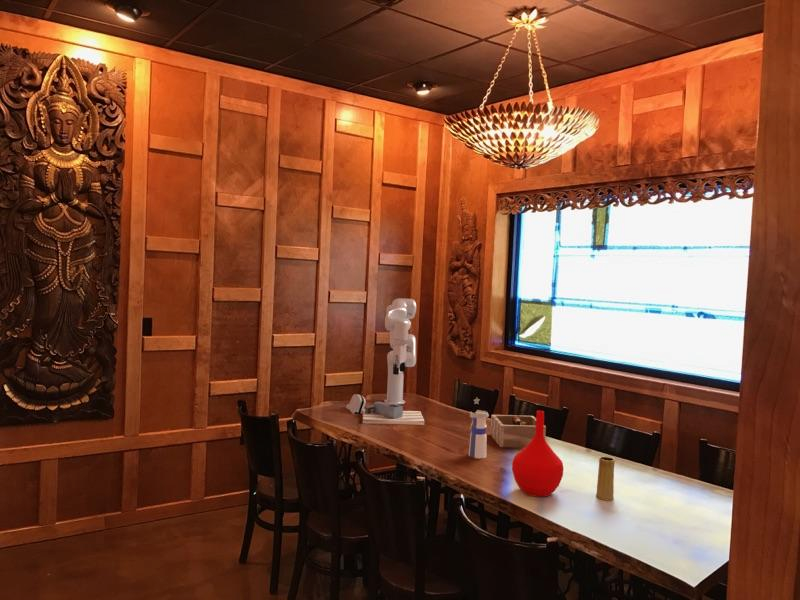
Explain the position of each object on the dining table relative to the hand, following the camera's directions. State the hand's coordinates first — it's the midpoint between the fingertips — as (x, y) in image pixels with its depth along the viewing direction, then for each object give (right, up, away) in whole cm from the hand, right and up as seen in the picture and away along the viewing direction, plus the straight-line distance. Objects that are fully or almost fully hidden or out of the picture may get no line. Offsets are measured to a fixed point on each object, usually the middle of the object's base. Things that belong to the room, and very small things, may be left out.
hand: (399, 372), depth 338 cm
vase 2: (+75, -32, -116) cm, 141 cm away
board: (-3, -24, -7) cm, 25 cm away
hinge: (-24, -23, +10) cm, 35 cm away
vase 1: (+50, -30, -113) cm, 127 cm away
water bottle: (+34, -28, -70) cm, 83 cm away
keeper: (-15, -23, -2) cm, 28 cm away
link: (-8, -22, -7) cm, 24 cm away
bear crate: (+57, -28, -43) cm, 76 cm away
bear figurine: (+59, -28, -42) cm, 78 cm away
